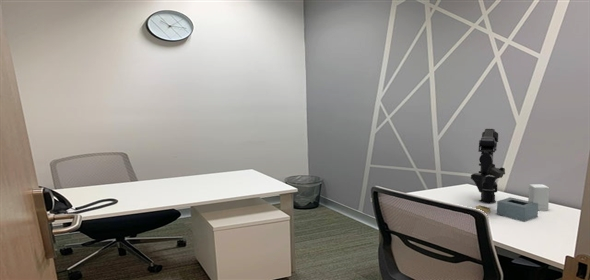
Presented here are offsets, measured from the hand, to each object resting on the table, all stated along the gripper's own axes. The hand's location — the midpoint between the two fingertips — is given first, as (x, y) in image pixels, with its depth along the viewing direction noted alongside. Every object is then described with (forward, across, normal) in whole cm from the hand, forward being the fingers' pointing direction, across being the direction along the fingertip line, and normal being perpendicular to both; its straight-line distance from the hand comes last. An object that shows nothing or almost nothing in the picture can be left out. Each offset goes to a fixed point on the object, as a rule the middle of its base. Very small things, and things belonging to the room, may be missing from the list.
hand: (485, 190), depth 201 cm
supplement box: (+11, +26, -14) cm, 32 cm away
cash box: (+11, +6, -13) cm, 18 cm away
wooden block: (+11, -1, +1) cm, 11 cm away
